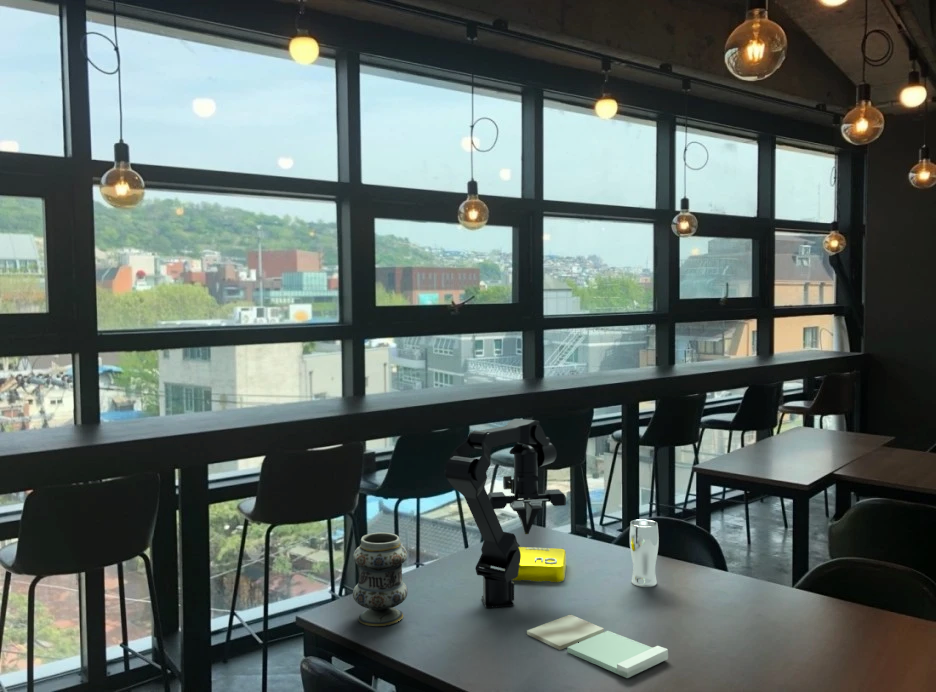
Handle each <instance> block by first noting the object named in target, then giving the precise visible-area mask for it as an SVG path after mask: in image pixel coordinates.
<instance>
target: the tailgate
mask: <svg viewBox="0 0 936 692" xmlns="http://www.w3.org/2000/svg"><path fill="white" fill-rule="evenodd" d="M566 648H567V654H568V653H569V654H571V655H572V656H575V657H578V658H579V659H581V660H585V661H587V662H589V663H591V664H594V665H596V666H598V667H601V668H603V669H605V670H608V671H609V672H612V673H614V674H616V675H619V676H621V677H623V678H625V679H629V678H631V677H633V676H635V675H637V674H639V673H642V672H643V671H646V670H648V669H650V668H652V667H654V666H656V665H659V664H660V663H662V662H664V661H666V660H668V659H669V650H668V648H666V647H662V646H660V645H656V646H654V647H651V646H649V645H647V644H644V643H641V642H639V641H637V640H633V639H631V638H629V637H626V636H623V635H620V634H618V633H615V632H612V631H610V630H606V631H604V632H603V633H601V634H598V635H596V636H593V637H591V638H588V639H586V640H584V641H581V642H579V643H576V644H574V645H571V646H569V647H566Z"/></svg>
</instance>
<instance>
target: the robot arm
mask: <svg viewBox="0 0 936 692" xmlns="http://www.w3.org/2000/svg"><path fill="white" fill-rule="evenodd" d="M550 440H551V439H550V437H548V436H546V433H545V432H544V430H543V427H542V426H541V425H540V421H539V420H535V419H534V420H533V419H526V418H525V419H522V418H513V419H512V420H510V421H508V422H507V424H506V425H503V426H497V427H493V428H486V429H481V430H479V429H474V430H472V431H470V432H469V434H467V437H466V438H465V440H464V441H463V442H462V443H461V444H459V445H458V446H456V447H455V448H454V449H453V451H452V453H451V455H450V457H449V458H448V460H447V462H446V464H445V467H444V475H445V477H446V480H447V481H448V483H449V484H450V485H451V487H452V488H453V489H454V490H456V491H457V492H458V493H460V494H461V495H462V496H463V498H464V500H465V502H466V504H467V507H468V508H469V511H470V513H471V515H472V517H473V520H474V522H475V525H476V526H477V529H478V531H479V533H480V536H481V537H482V540H483V543H482V545H481V548H480V551H481V555H480V556H479V559H478V561H477V563H476V565H475V573H476V575H477V576H479V577H480V576H481V577H482V592H483V593H482V595H481V600H482V602H483V604H484V608H487V609H492V608H505V607H506V608H507V607H514V605H515V604H514V602H513V601H515V582H514V580H513V579H514V578H516V577H518V572H519V566H520V560H521V554H520V550H519V548H518V547H521V545H520V544H519V542H518V541H517V537H516V535H515V533H512V532H507V531H504V530H503V527H502V525H501V523H500V521H499V518H498V516H497V514H496V512H495V510H501V509H505V508H506V507H507V505H509V507H510V508H511V510H512V511H513V512H516V513H517V516H518V519H519V521H520V525H521V527H522V530H523V533H524V534H525V535H529V533H530V532H531V529H532V526H533V524H534V521H535V520H536V518H537V515H538V513H540V511H544V507H543V506H542V504H543V503H544V502H545V503H546V502H549V503H551V505H553V507H560V506H561V507H562V506H563V507H564V506H566V505H567V498H566V495H565V493H564V492H562V491H561V490H560V489H558V488H557V489H545V491H544V493H539V492H538V491H539V486H538V484H539V483H538V481H539V476H538V470H539V469H538V468H540V467H543V466H546V465H550V464H551V463H554V462H555V460H556V459H557V454H558V453H557V449H556V447H555V446H554V444H553V443H552V442H551V441H550ZM510 444H514V445H513V447H512V448H510V450H509V451H508V452H509V455H513V478H512V475H503V478H502V485H503V486H502V487H503V490H510V493H511V494H512V495H505V493H504V492H503V491H495V492H494V491H493V492H492V491H491V492H487V490H486V487H485V486H486V482H487V480H488V475H487V472H488V470H489V467H490V466H491V464H492V463H491V462H492V460H491V459H492V458H491V451H492V449H493V448H495V447H499V446H500V447H501V446H506V445H510ZM475 449H480V450H481V455H480V458H473V457H468V456H469V455H471V453H473V452H474V451H475ZM524 504H526V507H525V506H524ZM498 568H499V569H498ZM501 569H503V570H501Z"/></svg>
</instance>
